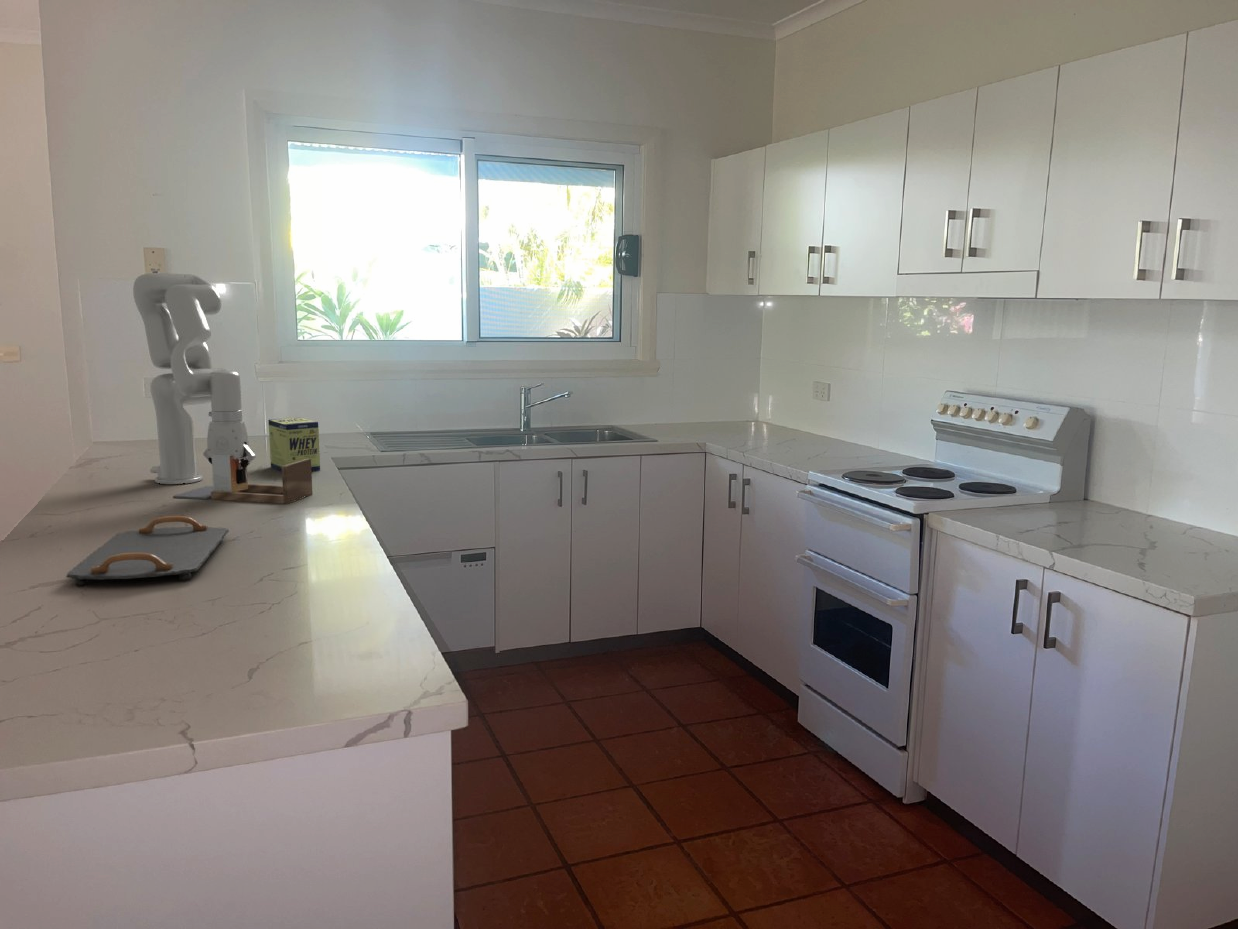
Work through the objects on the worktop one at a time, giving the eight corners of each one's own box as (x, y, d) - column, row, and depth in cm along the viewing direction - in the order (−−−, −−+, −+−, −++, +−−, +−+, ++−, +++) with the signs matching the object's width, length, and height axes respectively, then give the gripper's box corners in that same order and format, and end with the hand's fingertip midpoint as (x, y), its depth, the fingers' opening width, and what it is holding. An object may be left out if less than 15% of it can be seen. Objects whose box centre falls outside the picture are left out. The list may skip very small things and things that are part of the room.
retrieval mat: (173, 497, 246) (173, 495, 246) (206, 487, 260) (206, 486, 260) (206, 499, 244) (206, 497, 244) (237, 489, 258) (237, 487, 258)
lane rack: (211, 499, 245) (208, 462, 243) (239, 490, 257) (237, 455, 255) (287, 503, 240) (285, 466, 239) (312, 494, 252) (310, 458, 251)
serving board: (123, 541, 203) (120, 514, 202) (234, 537, 208) (232, 510, 207) (58, 595, 165) (55, 562, 164) (195, 587, 170) (193, 555, 169)
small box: (231, 494, 246) (229, 455, 244) (213, 493, 247) (210, 454, 245) (249, 488, 254) (247, 451, 252) (230, 487, 255) (228, 450, 253)
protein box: (288, 474, 282) (286, 424, 279) (269, 467, 294) (267, 419, 291) (321, 470, 289) (319, 421, 286) (301, 463, 300) (299, 416, 298)
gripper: (189, 417, 245) (194, 483, 248) (247, 419, 242) (251, 486, 245) (207, 413, 252) (211, 478, 255) (263, 416, 249) (267, 481, 252)
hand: (230, 481), depth 250 cm, fingers closed on small box, 5 cm apart
